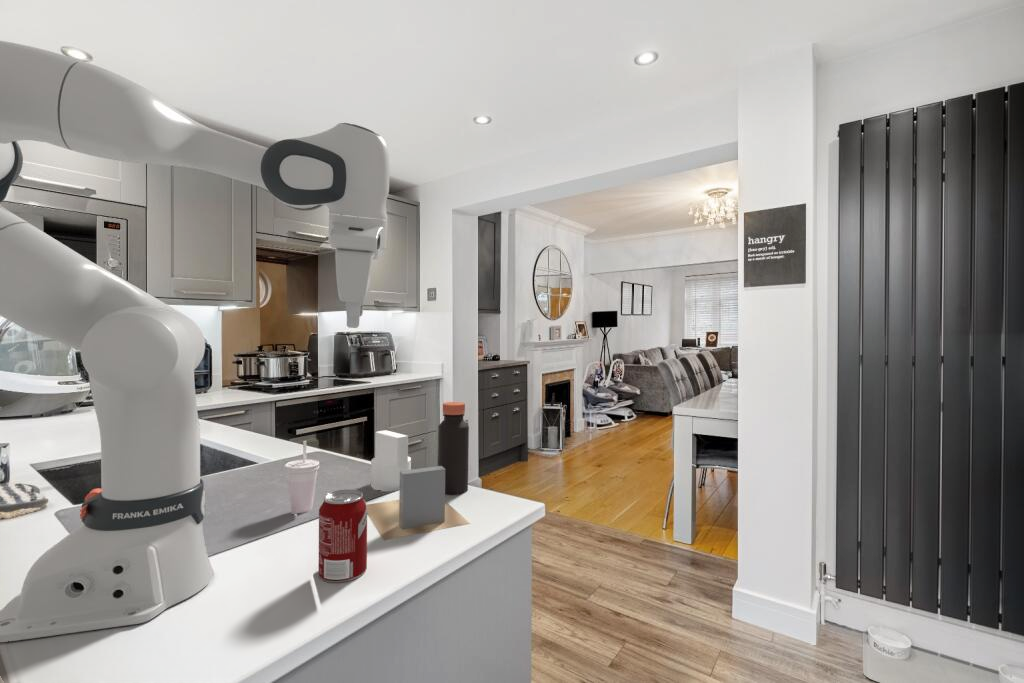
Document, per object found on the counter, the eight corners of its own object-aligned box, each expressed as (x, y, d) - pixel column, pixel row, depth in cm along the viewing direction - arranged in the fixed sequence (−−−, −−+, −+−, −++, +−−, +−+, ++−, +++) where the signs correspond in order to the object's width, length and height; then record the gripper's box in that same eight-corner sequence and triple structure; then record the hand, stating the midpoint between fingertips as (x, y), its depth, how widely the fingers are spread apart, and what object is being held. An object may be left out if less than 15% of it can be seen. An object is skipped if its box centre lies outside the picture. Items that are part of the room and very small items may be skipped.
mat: (383, 543, 84) (383, 539, 84) (362, 508, 99) (362, 505, 99) (470, 526, 91) (470, 523, 91) (437, 496, 107) (437, 493, 107)
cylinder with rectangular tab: (363, 485, 114) (363, 433, 113) (395, 476, 121) (395, 428, 120) (386, 494, 108) (386, 440, 108) (418, 484, 115) (419, 433, 114)
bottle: (473, 491, 111) (475, 403, 110) (455, 499, 105) (456, 407, 105) (450, 485, 114) (451, 400, 114) (431, 493, 109) (432, 404, 108)
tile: (402, 529, 88) (403, 474, 88) (398, 524, 90) (399, 470, 90) (444, 521, 92) (445, 468, 91) (440, 517, 94) (440, 465, 94)
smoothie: (326, 510, 98) (326, 440, 97) (297, 521, 92) (297, 447, 92) (306, 503, 101) (306, 436, 101) (277, 513, 96) (277, 442, 95)
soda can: (351, 590, 69) (352, 505, 68) (308, 584, 70) (309, 501, 70) (374, 567, 75) (375, 489, 75) (334, 562, 77) (335, 486, 76)
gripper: (343, 232, 87) (341, 309, 90) (329, 235, 68) (327, 333, 71) (380, 236, 89) (376, 311, 92) (377, 240, 69) (372, 335, 72)
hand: (355, 321), depth 81 cm, fingers open, 8 cm apart
